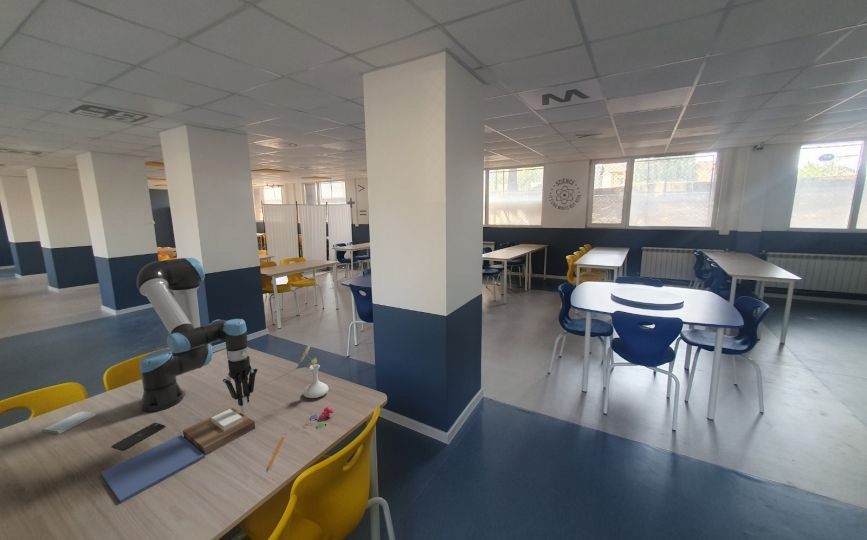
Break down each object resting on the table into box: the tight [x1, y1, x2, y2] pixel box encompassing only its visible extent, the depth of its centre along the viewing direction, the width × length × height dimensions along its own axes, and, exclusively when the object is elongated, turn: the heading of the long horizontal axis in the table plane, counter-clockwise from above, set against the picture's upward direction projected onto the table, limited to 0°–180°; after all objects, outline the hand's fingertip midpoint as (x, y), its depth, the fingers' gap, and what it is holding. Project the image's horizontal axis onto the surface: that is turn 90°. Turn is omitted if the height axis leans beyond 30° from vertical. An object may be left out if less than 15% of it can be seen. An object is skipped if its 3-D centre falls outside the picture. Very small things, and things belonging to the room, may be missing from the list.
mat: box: [100, 434, 206, 504], centre depth 114 cm, size 20×22×1 cm
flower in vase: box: [299, 345, 330, 399], centre depth 156 cm, size 13×11×25 cm
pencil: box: [266, 433, 286, 472], centre depth 121 cm, size 1×1×19 cm
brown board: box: [182, 407, 256, 456], centre depth 131 cm, size 18×18×3 cm
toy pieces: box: [303, 406, 335, 429], centre depth 138 cm, size 12×11×4 cm
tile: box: [210, 408, 243, 431], centre depth 133 cm, size 10×7×2 cm
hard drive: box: [42, 410, 96, 435], centre depth 138 cm, size 2×8×12 cm
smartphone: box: [111, 422, 167, 452], centre depth 130 cm, size 7×1×15 cm
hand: (244, 411), depth 139 cm, fingers closed
